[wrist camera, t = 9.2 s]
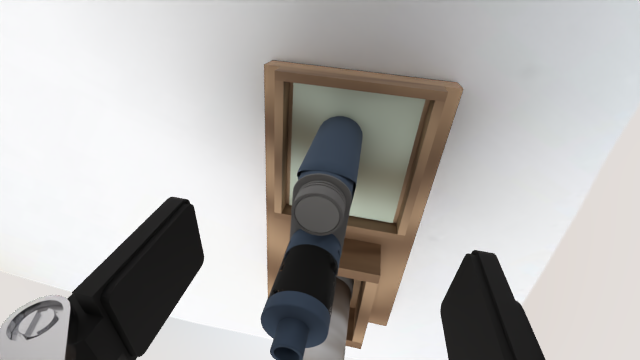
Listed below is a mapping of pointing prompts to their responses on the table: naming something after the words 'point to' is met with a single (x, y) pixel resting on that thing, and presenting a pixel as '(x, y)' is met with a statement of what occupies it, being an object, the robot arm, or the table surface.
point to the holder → (372, 181)
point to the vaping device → (314, 241)
